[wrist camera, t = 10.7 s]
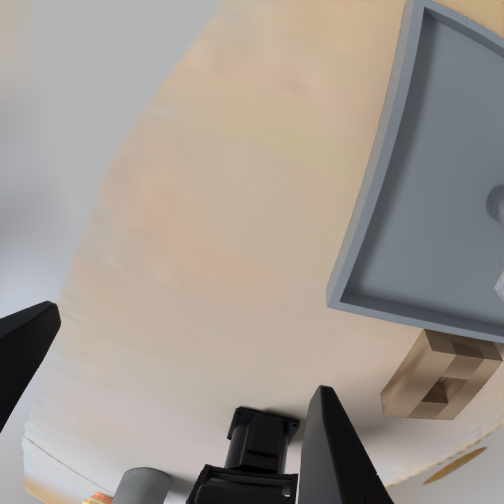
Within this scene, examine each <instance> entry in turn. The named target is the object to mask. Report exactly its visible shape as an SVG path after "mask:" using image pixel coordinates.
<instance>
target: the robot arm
mask: <svg viewBox="0 0 504 504" xmlns="http://www.w3.org/2000/svg"><path fill="white" fill-rule="evenodd" d="M60 326H61V319H60V315H59V310H58V306H57V305H56V304H55V303H53V302H50V301H45V302H42V303H39V304H37V305H34V306H31V307H29V308H26V309H24V310H21V311H19V312H16V313H14V314H11V315H9V316H6V317H4V318H1V319H0V433H1V431H2V429H3V427H4V425H5V424H6V422H7V420H8V418H9V416H10V414H11V413H12V411H13V409H14V407H15V406H16V404H17V402H18V401H19V399H20V397H21V395H22V393H23V392H24V390H25V389H26V387H27V385H28V384H29V382H30V380H31V379H32V377H33V375H34V374H35V372H36V371H37V369H38V368H39V366H40V364H41V363H42V361H43V359H44V357H45V356H46V354H47V352H48V350H49V348H50V346H51V344H52V342H53V340H54V338H55V336H56V334H57V332H58V331H59V329H60ZM299 427H300V421H299V420H295V419H290V418H285V417H279V416H275V415H270V414H265V413H260V412H256V411H252V410H247V409H243V408H236V409H235V413H234V416H233V419H232V423H231V426H230V429H229V432H228V436H227V439H229V440H231V443H230V447H229V451H228V455H227V459H226V462H225V466H224V468H221V467H215V466H212V465H208V464H205V466H204V469H203V470H202V471H201V473H200V475H199V477H198V479H197V481H196V483H195V485H194V488H193V490H192V492H191V494H190V496H189V497H188V499H187V500H186V504H295V501H296V492H297V482H298V474H284V473H285V465H286V457H287V449H288V444H289V442H290V441H291V439H292V438H293V436H294V434H295V433H296V431H297V430H298V428H299ZM285 495H290V497H286V496H285ZM298 504H394V502H393V501H392V499H391V498H390V496H389V495H388V492H387V491H386V489H385V487H384V485H383V483H382V481H381V480H380V478H379V476H378V475H377V472H376V470H375V468H374V466H373V464H372V462H371V460H370V458H369V456H368V454H367V453H366V451H365V449H364V447H363V445H362V443H361V441H360V439H359V437H358V435H357V433H356V431H355V429H354V427H353V425H352V424H351V422H350V420H349V418H348V416H347V414H346V412H345V410H344V408H343V406H342V404H341V402H340V401H339V399H338V397H337V395H336V393H335V391H334V389H333V388H332V387H329V386H324V385H320V386H319V387H318V388H317V390H316V392H315V393H314V395H313V397H312V399H311V401H310V404H309V409H308V415H307V421H306V426H305V432H304V438H303V443H302V452H301V468H300V483H299V496H298Z"/></svg>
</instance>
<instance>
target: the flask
mask: <svg viewBox="0 0 504 504" xmlns="http://www.w3.org/2000/svg"><path fill="white" fill-rule="evenodd" d="M170 483H171V479H170V477H169V476H168V475H166V474H165V473H163V472H161V471H158V470H155V469H151V468H136V469H131V470H128V471H126V472H125V473H124V475H123V477H122V479H121V482H120V484H119V486H118V488H117V491H116V493H115V495H114V497H113V500H112V502H111V504H163V503H164V500H165V497H166V494H167V491H168V489H169V486H170Z"/></svg>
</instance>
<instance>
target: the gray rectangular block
mask: <svg viewBox="0 0 504 504" xmlns="http://www.w3.org/2000/svg"><path fill="white" fill-rule="evenodd" d="M486 208H487V212H488V214H489V216H490V217H491V218H492V219H494V220H495V221H496V222H497V223H499V224H500V225H501V226H502V227H503V228H504V185H498V186H496V187H494V188H493V189H492V190H491V192H490V193H489V195H488V198H487V202H486ZM494 289H495V290H496V292H497V293H498V294H499V296H500V297H501V298H502V300H503V301H504V270H503V272H502V274H501V275H500V277H499V279H498V281H497V283H496V285H495V287H494Z"/></svg>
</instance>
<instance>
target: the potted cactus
mask: <svg viewBox="0 0 504 504" xmlns="http://www.w3.org/2000/svg"><path fill="white" fill-rule="evenodd" d="M112 500H113V499H112V498H110V497H108V496H106V495H103V494H101V493H98V492H95V495H94V496H92V497H89V498H87V499H86V500H85V501H84V502H82V503H81V504H111V502H112Z"/></svg>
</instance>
